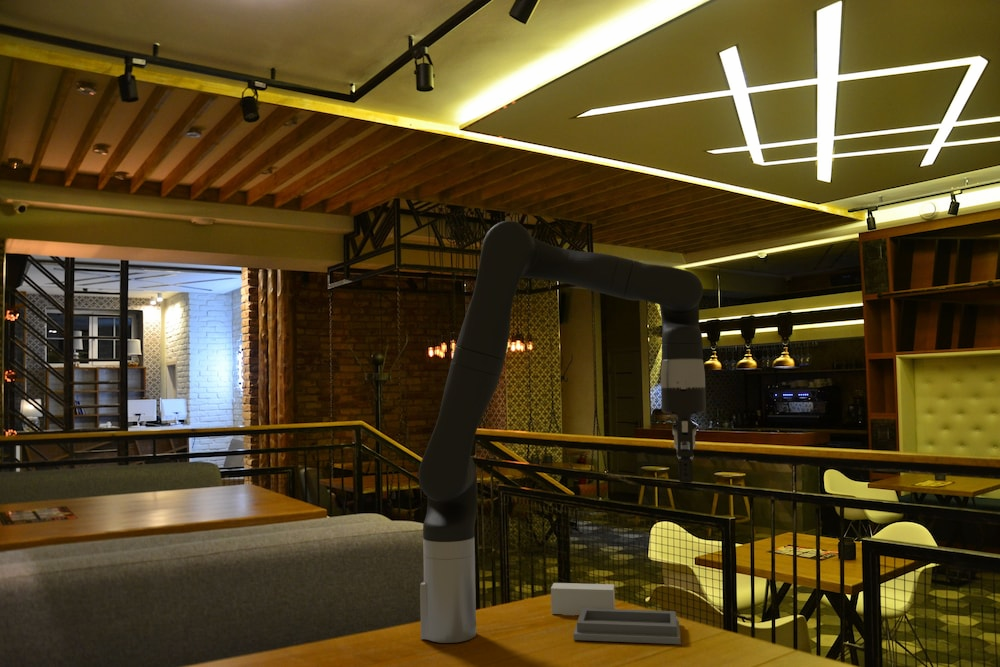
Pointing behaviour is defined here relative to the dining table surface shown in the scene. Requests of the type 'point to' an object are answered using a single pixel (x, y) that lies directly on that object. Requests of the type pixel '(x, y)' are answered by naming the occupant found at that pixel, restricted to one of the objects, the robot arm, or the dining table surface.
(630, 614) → the cradle
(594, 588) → the off-white tapered block
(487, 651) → the dining table surface
